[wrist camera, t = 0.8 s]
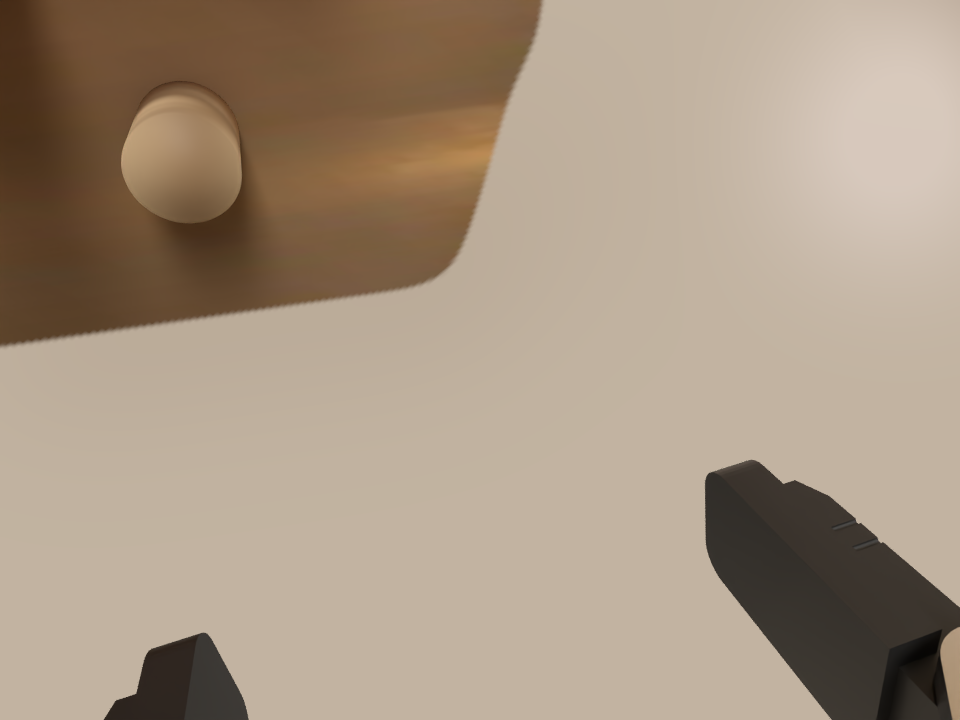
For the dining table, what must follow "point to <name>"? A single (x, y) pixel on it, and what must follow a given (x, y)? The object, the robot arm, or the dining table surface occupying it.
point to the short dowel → (183, 153)
